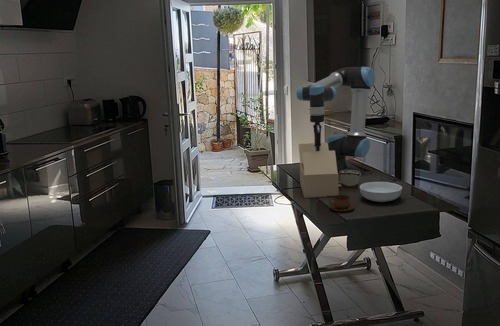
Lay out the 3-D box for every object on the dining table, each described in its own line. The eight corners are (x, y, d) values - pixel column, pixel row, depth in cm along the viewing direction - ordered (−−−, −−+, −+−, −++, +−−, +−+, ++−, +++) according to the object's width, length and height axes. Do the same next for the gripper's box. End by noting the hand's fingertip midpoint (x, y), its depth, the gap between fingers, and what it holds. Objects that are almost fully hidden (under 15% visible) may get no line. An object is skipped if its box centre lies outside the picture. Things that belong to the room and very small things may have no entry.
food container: (363, 187, 266) (363, 170, 263) (360, 190, 260) (360, 172, 258) (341, 186, 271) (341, 168, 268) (338, 189, 265) (338, 171, 263)
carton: (331, 182, 279) (330, 162, 277) (338, 196, 252) (338, 174, 249) (300, 183, 280) (299, 163, 277) (304, 197, 253) (303, 175, 250)
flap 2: (334, 151, 256) (334, 150, 255) (337, 174, 249) (337, 173, 249) (302, 152, 256) (302, 151, 256) (304, 175, 250) (304, 175, 249)
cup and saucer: (331, 214, 226) (331, 201, 225) (327, 206, 238) (327, 194, 237) (357, 212, 226) (357, 200, 225) (351, 204, 238) (351, 193, 237)
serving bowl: (410, 200, 240) (411, 187, 238) (380, 209, 230) (380, 195, 228) (380, 191, 257) (380, 178, 256) (350, 198, 248) (350, 185, 246)
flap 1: (330, 162, 277) (330, 162, 277) (327, 142, 284) (327, 143, 285) (300, 163, 277) (300, 163, 278) (298, 143, 285) (298, 144, 285)
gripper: (308, 113, 262) (309, 155, 267) (311, 116, 249) (312, 160, 255) (322, 112, 262) (323, 154, 267) (325, 115, 249) (326, 159, 254)
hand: (317, 157), depth 261 cm, fingers closed
